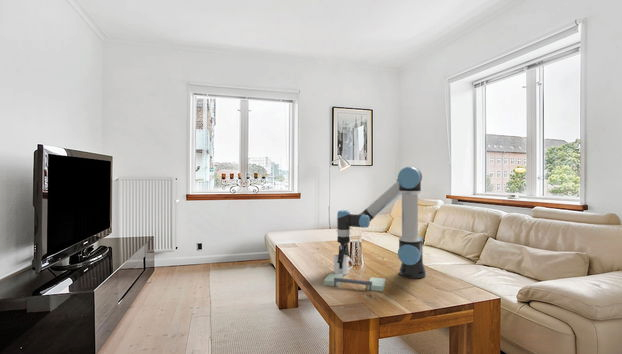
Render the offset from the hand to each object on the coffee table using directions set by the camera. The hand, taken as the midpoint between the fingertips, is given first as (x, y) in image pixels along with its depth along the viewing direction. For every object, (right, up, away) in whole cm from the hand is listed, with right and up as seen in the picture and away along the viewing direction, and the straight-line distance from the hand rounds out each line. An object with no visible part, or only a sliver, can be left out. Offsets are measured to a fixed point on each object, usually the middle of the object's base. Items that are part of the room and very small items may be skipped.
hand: (343, 270), depth 197 cm
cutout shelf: (+4, -2, -18) cm, 19 cm away
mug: (0, -2, 0) cm, 2 cm away
